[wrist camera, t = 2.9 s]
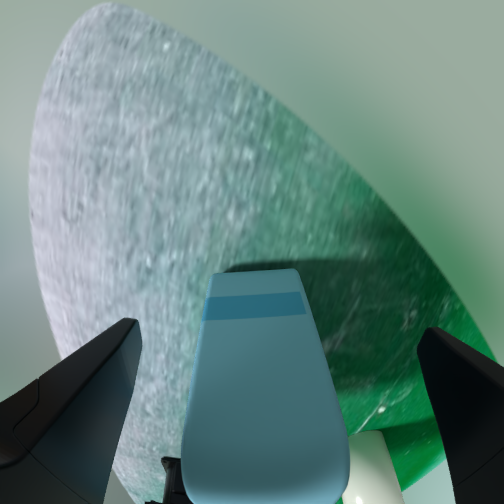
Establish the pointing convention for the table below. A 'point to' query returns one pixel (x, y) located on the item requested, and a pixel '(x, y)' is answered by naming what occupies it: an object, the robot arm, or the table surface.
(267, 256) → the table surface
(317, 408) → the light blue rounded block
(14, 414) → the robot arm
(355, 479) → the white rounded cylinder
